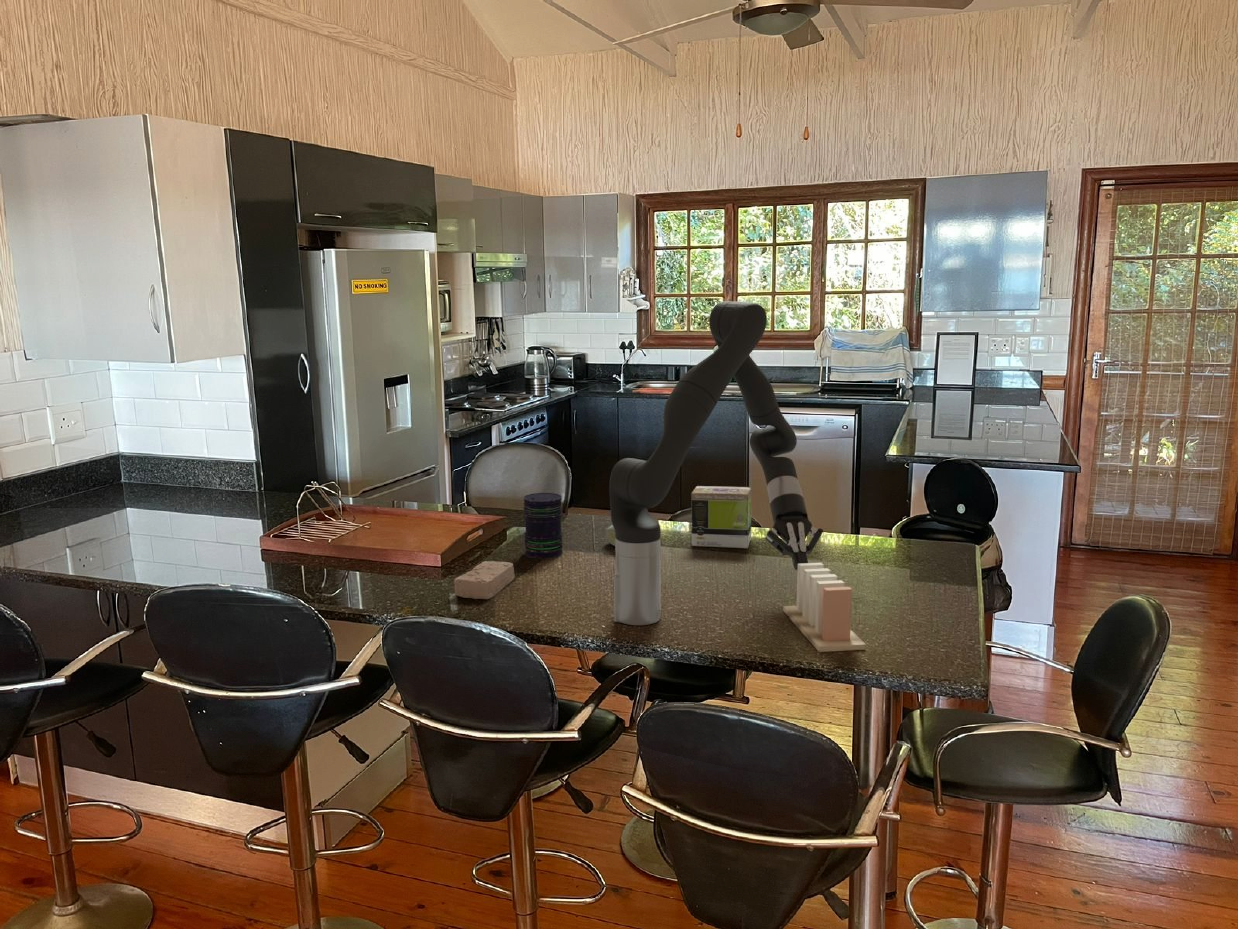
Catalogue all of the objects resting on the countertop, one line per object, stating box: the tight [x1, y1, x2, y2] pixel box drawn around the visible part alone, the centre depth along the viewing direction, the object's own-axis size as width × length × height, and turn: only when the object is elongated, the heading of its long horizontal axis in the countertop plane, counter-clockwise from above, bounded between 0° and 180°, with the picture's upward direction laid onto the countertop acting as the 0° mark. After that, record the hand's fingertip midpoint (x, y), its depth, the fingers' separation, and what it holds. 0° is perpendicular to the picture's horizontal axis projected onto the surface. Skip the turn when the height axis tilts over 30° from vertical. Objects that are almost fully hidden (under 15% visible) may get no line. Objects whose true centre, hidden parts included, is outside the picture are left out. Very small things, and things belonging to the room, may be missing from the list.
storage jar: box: [523, 492, 564, 560], centre depth 240 cm, size 10×10×15 cm
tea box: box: [690, 485, 752, 549], centre depth 248 cm, size 15×10×15 cm, turn 77°
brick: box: [453, 560, 515, 600], centre depth 213 cm, size 17×8×5 cm, turn 165°
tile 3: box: [809, 573, 838, 626], centre depth 185 cm, size 2×5×10 cm, turn 97°
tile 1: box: [796, 562, 825, 612], centre depth 193 cm, size 2×5×10 cm, turn 97°
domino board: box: [782, 604, 867, 653], centre depth 186 cm, size 23×9×1 cm, turn 7°
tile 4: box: [815, 579, 845, 633], centre depth 181 cm, size 2×5×10 cm, turn 97°
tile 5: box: [822, 586, 853, 641], centre depth 177 cm, size 2×5×10 cm, turn 97°
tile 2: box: [802, 567, 831, 619], centre depth 189 cm, size 2×5×10 cm, turn 97°
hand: (802, 570), depth 198 cm, fingers closed
